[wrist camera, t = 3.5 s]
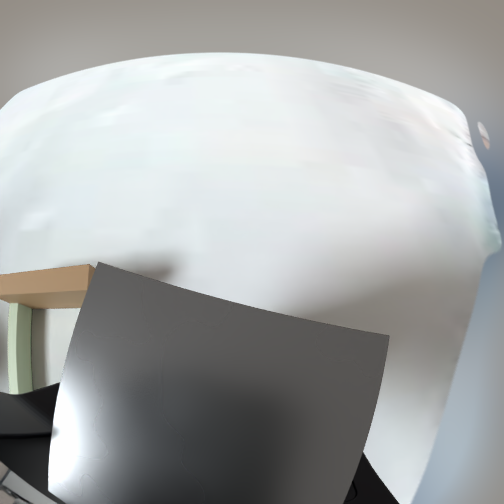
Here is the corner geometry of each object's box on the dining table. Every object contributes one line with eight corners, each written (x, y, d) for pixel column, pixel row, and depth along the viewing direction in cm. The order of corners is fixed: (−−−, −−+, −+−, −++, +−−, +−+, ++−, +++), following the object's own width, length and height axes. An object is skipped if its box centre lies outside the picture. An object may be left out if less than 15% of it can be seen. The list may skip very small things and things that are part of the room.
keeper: (126, 431, 13) (96, 443, 10) (26, 409, 13) (-8, 410, 9) (118, 284, 17) (89, 264, 14) (25, 291, 17) (-6, 275, 13)
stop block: (266, 431, 13) (303, 576, 2) (190, 410, 14) (48, 490, 2) (286, 359, 15) (389, 335, 3) (210, 340, 15) (98, 261, 4)
